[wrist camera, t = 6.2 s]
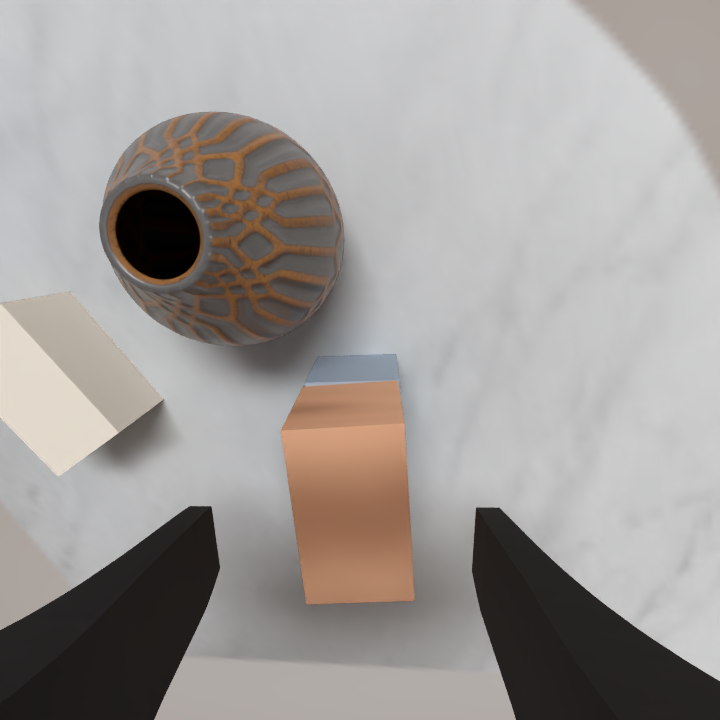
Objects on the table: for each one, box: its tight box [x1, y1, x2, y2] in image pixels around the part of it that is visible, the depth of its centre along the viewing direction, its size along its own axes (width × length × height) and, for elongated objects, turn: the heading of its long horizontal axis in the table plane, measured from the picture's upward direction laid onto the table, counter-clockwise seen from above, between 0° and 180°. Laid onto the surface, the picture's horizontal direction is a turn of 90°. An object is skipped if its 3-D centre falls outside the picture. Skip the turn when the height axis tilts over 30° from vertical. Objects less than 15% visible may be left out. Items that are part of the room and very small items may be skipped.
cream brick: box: [0, 292, 164, 477], centre depth 17 cm, size 6×3×4 cm, turn 35°
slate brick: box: [305, 354, 400, 390], centre depth 17 cm, size 6×3×4 cm, turn 3°
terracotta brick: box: [281, 380, 415, 604], centre depth 14 cm, size 6×3×4 cm, turn 5°
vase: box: [99, 112, 344, 346], centre depth 13 cm, size 7×7×9 cm
